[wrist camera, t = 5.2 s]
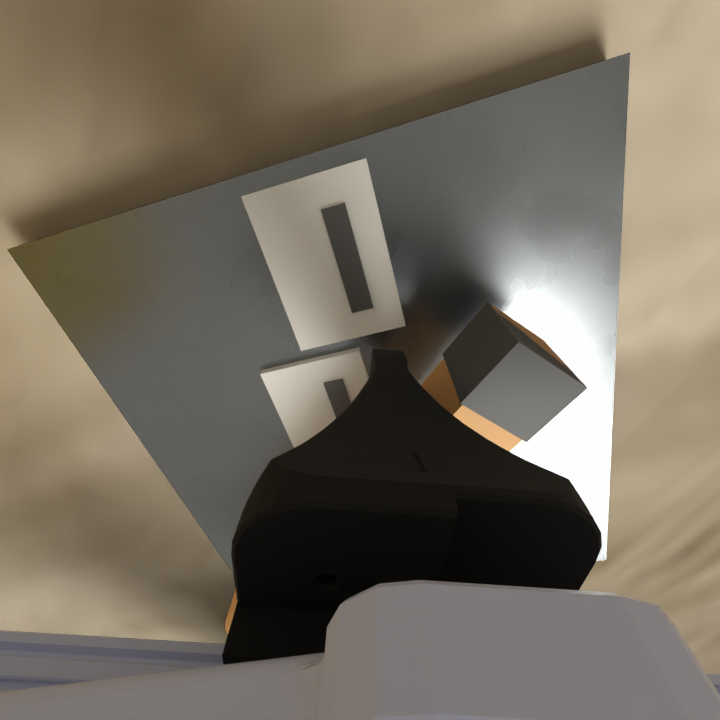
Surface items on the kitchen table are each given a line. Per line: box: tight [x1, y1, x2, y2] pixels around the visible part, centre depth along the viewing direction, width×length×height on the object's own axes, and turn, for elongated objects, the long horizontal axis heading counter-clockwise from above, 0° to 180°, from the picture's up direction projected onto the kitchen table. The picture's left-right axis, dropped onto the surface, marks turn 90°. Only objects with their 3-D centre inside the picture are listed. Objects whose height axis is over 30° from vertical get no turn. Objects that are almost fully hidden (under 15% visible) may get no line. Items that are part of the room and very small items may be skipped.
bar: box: [225, 301, 587, 635], centre depth 13 cm, size 16×4×3 cm, turn 147°
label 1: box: [241, 158, 406, 351], centre depth 12 cm, size 5×4×1 cm
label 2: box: [260, 347, 369, 448], centre depth 14 cm, size 5×4×1 cm
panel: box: [7, 53, 630, 574], centre depth 15 cm, size 20×18×2 cm
